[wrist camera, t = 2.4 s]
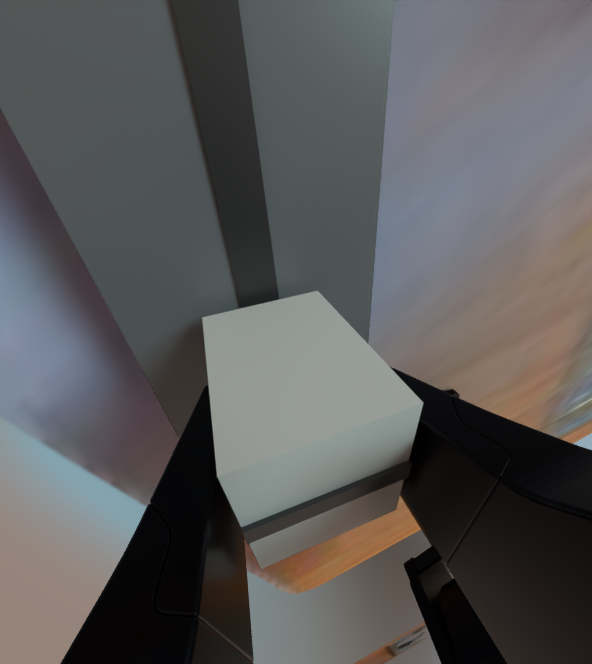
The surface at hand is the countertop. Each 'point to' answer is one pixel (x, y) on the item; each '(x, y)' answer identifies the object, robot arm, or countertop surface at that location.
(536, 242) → the countertop surface
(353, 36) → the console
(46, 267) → the countertop surface
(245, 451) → the block
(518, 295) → the countertop surface
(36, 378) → the countertop surface
